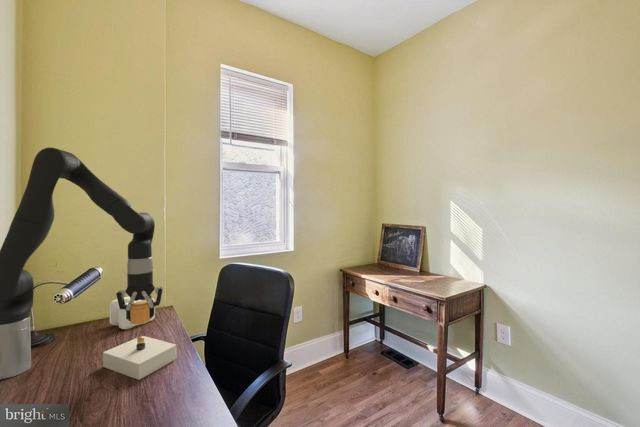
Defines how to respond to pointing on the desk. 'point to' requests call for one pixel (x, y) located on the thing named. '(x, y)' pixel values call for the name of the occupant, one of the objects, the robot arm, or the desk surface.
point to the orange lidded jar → (140, 312)
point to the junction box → (139, 357)
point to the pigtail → (140, 343)
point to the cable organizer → (122, 314)
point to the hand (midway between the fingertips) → (140, 318)
